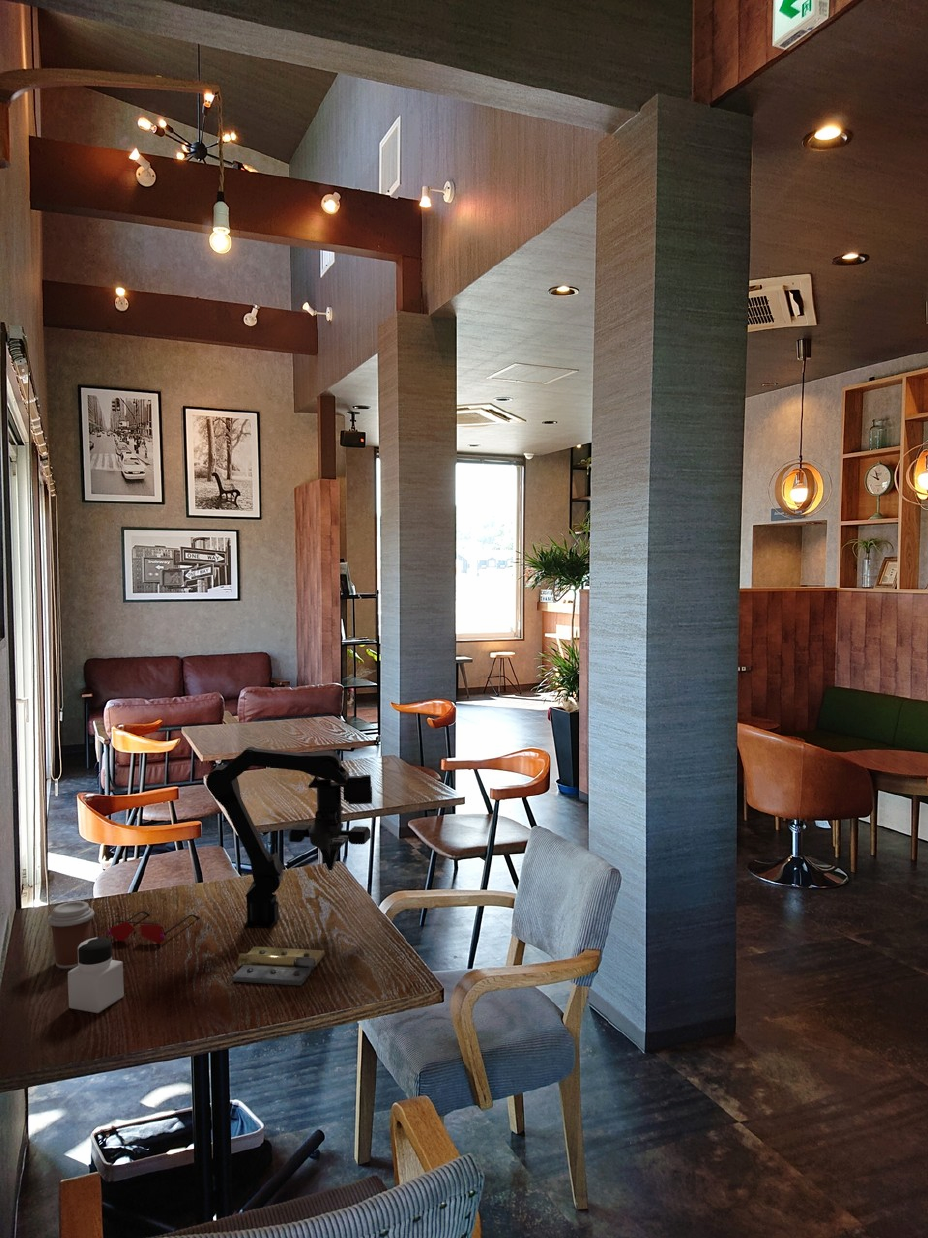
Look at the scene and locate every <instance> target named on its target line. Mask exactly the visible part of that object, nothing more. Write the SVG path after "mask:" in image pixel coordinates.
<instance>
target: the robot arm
mask: <svg viewBox="0 0 928 1238" xmlns="http://www.w3.org/2000/svg"><path fill="white" fill-rule="evenodd" d="M250 767H260V768H267V769H268V768H271V769H277V770H278V769H279V770H288V771H298V772H301V773H302V772H303V773H305V774H308V775H310V776H311V777H313V779H312V780H311V781H310V782H309V783H308V786H307V787H308V789H316V805H317V806H316V811H315V814H314V815H315V816H314V817H315V818H314V821H313V823H312V824H296V825H295V826H294V827H293V828H291V829H290V830H289V833H288V842H290V843H302V842H303V841H304V840H305V838H309V841H310V845H311V846H314V847H317V849H319V851H320V852H321V853H320V854H322V857H323V859H324V862H325V865H326V868H327V870H328V871H333V870H334V866H335V865H336V862H337V858H338V855H339V853H340V850H341V848H342V847H343V846H344V845H345V844H346V843H347V842H349V844H350V845H366V843H368V841H369V840H370V839H371V838H372V836H371V829H370V828H369V826H361V825H360V826H358V825H357V826H355V825H354V826H353V827H351V829H350V830H349V829H348V830H347V829H345V830H344V829H343V828H344V823H342V822H343V819H342V818H343V817H342V816H343V815H342V812H343V809H344V807H343V806H342V796H343V801H345V802H346V803H347V804H348V805H349V806H351V805H370V804H371V805H372V804H373V786H372V775H371V774H364V775H350V774H349V772H348V771H347V770H346V768H345V767H344V766H343V765H342V758H341V757H340V755H339V754H338V753H337V752H336V751H334V750H319V751H312V752H304V753H303V752H302V753H301V752H294V751H284V750H283V751H282V750H278V749H277V750H275V749H266V748H257V747H255V746H248V747H246V748H245V749H244V750H243V751H242V752H240V754H239V755H237V756H236V757H235V758H233V759H232V760H231V761H229V762H228V763H226V764H220V765H218V766H217V765H216V767H214V769H213V770H212V771H211V772H210V773H209V774H208V775H207V776H206V781H205V785H206V788H207V789H208V790H209V792H210V794H211V795H212V796H213V798H214V800H216V801H217V802H218V803H219V804H220V805H221V806H222V807H223V808H224V810H225V811H226V814H227V815H228V818H229V820H230V822H231V824H232V826H233V828H234V830H235V832H236V834H237V836H238V838H239V840H240V842H241V845H242V846H243V849H244V850H245V852H246V855H247V857H248V859H249V862H250V868H251V875H252V879H253V881H252V882H251V883H250V886H249V889H248V890H247V892H246V894H245V898H246V922H245V923H243V924H244V927H250V928H253V927H254V928H266V929H267V928H271V927H272V926H273V925H274V924H275V923H276V922H277V921H278V920H279V919H280V916H281V915H280V912H279V908H280V907H279V906H280V905H279V901H278V900H277V894H275V892H277V891H278V890H279V888H280V885H281V883H282V881H283V877H284V868H285V865H284V864H283V863H282V862H281V859H280V857H279V854H278V852H275V853H273V854H272V853H270V851H268V850H267V848H266V847H265V844H264V842H263V840H262V838H261V836H260V833H259V831H258V830H257V828H256V825H255V823H254V822H253V820H252V817H251V815H250V813H249V812H248V809H247V807H246V805H245V803H244V801H243V799H242V796H241V789H240V783H239V780H238V779H239V778H238V777H239V776H240V775H242V774H243V773H244V772H245V771H246V770H248V769H249V768H250ZM342 788H343V795H342Z"/></svg>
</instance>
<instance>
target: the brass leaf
mask: <svg viewBox="0 0 928 1238" xmlns="http://www.w3.org/2000/svg"><path fill="white" fill-rule="evenodd" d="M324 956H325V949H324V950H321V949H304V948H303V949H302V948H286V947H271V946H269V947H267V946H253V947H252V948H251V950H249V951H248V952H247V953H239V955H238V958H237V965H238V966H240V967H242V966H243V965H244V964H250V965H267V966H283V967H295V961H296V958H297V957H308V958H315V967H317V965H318V964H319V962H320V961H321V960H322V959H323V957H324ZM315 967H314V968H315Z"/></svg>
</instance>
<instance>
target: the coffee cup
mask: <svg viewBox="0 0 928 1238" xmlns="http://www.w3.org/2000/svg"><path fill="white" fill-rule="evenodd" d="M94 916H95V911H94V909H93V908H91V907H90V905H89V902H86V901H83V900H76V901H75V900H73V901H68V902H64V903H60V904H59V905H55V907H54V908H53V909H52V913H51V914H50V915H49V916H48V917H47V923H48V925H50V926H51V933H52V941H53V947H54V955H55V956H54V957H55V965H56V967H57V968H59V969H67V970H68V969H74V968H76V967H78V946H79V945H80V944H81V943H82V942H84V941H86V940H89V939H91V927H92V926H91V925H92V919H93V918H94Z"/></svg>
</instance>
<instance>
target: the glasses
mask: <svg viewBox="0 0 928 1238" xmlns="http://www.w3.org/2000/svg"><path fill="white" fill-rule="evenodd" d="M142 913H143V914H145V915H146V916H150V915H151V914H150V913H149V912H146V911H145V910H141V911H139V912H137V913H136V914H134V915H132V916H131V917H129V918H128V919H126V920H125V921H123V920H119V921H114V923H112V925H111V927H110V928H109V930H108V934H110V936H112V937H113V938H114V939H115V940H117V941H118V942H124V941H126V940H127V938H129V936H131V937H133V936H135V935H136V933H137V930H136V927H135V926H133V925H132V924H140V932H141V937H142V938H145V939H147V940H149V941H152V942H154V943H156V944H158V945H161V944H162V943H163V941H164V940H165V935H167V934H168V933H170V932H171V931H172V930H174V929H175V928H176V927H178V926H180V924H182V923H184V922H185V921H186V920H188V919H189V918H190V917H193V918H195V919H197V920H200V919H201V917H200V916H197V915H196V914H192V913H191V914H189V915H188V916H185V918H183V919H182V920H180V921H179V922H177V923H176V924H175V925H174V926H172V927H171V928H170V929H168V930H166V931H165V929H164V926H162V924H158V923H152V922H151V923H150V922H140V921H139V922H138V921H131V920H132V919H134V918H135V917H137V916H138V915H140V914H142ZM116 923H119V924H116ZM115 924H116V925H115ZM135 930H136V931H135Z"/></svg>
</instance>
